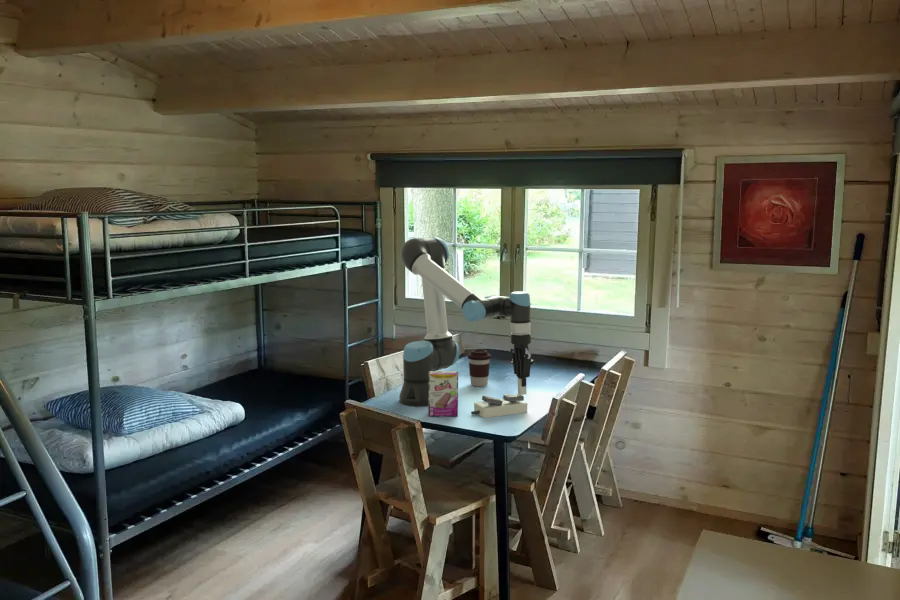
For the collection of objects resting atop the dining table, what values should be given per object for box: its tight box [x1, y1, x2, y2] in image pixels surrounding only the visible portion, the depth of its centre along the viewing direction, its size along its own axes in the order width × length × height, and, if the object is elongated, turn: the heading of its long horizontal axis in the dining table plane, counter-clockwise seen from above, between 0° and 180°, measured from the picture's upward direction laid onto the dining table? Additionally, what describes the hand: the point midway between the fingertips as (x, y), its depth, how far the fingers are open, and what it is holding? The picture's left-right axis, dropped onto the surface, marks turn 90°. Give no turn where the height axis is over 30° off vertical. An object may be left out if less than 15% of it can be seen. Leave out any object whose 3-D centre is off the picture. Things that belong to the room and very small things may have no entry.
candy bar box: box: [427, 370, 459, 417], centre depth 273 cm, size 11×5×16 cm, turn 92°
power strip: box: [470, 398, 528, 419], centre depth 277 cm, size 21×9×4 cm, turn 113°
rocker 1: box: [481, 395, 503, 405], centre depth 273 cm, size 7×4×2 cm, turn 113°
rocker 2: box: [502, 393, 525, 402], centre depth 277 cm, size 7×4×2 cm, turn 113°
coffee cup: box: [467, 348, 492, 388], centre depth 316 cm, size 10×10×15 cm
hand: (522, 393), depth 278 cm, fingers closed
